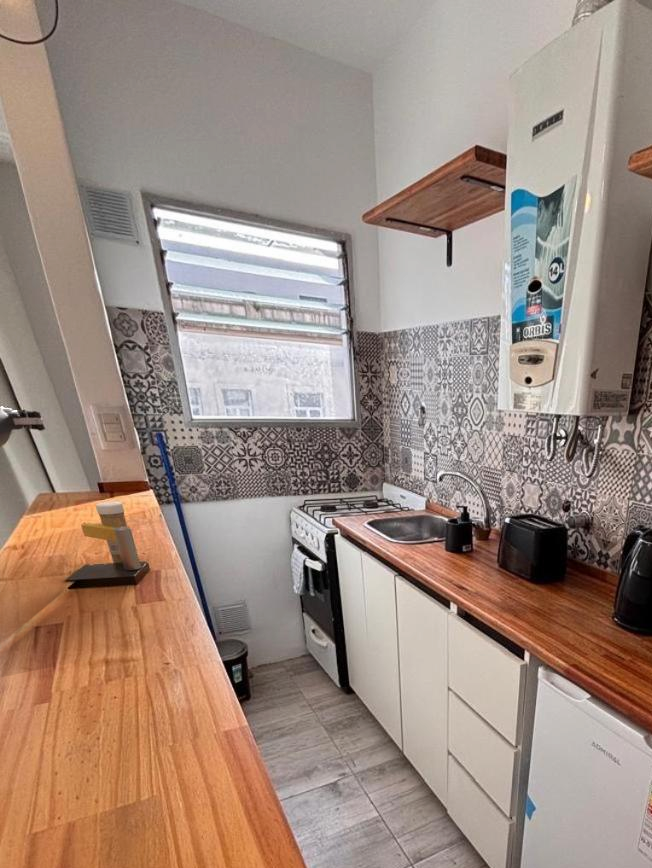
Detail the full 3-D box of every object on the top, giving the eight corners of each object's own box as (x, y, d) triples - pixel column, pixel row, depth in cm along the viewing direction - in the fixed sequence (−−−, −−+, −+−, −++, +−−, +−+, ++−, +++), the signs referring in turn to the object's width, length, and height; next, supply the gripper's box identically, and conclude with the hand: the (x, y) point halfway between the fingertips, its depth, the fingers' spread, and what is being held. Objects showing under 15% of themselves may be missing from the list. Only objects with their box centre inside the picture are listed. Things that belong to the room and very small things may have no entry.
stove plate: (67, 589, 97) (64, 579, 97) (87, 573, 106) (84, 564, 105) (136, 584, 101) (134, 575, 100) (150, 569, 109) (147, 560, 108)
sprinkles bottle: (143, 564, 112) (127, 501, 106) (127, 570, 108) (109, 505, 102) (125, 562, 113) (108, 500, 107) (108, 568, 109) (89, 504, 103)
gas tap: (89, 562, 106) (77, 523, 103) (102, 559, 108) (91, 520, 105) (131, 571, 102) (119, 530, 99) (144, 567, 104) (133, 527, 101)
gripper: (9, 394, 70) (61, 393, 84) (-116, 391, 66) (-38, 390, 81) (28, 453, 73) (75, 442, 88) (-89, 453, 69) (-19, 441, 84)
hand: (21, 417), depth 84 cm, fingers closed
